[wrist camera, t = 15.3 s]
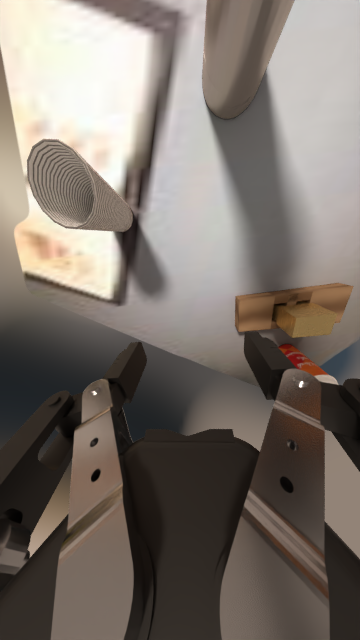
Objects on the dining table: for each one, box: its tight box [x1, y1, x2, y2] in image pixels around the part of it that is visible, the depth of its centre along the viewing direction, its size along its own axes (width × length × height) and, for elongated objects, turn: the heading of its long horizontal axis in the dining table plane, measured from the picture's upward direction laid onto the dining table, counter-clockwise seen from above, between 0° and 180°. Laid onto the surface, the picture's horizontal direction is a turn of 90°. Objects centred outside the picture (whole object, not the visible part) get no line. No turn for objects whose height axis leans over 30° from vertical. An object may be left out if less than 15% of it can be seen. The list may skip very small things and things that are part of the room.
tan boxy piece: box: [272, 301, 337, 338], centre depth 32 cm, size 5×7×11 cm, turn 99°
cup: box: [27, 139, 133, 232], centre depth 24 cm, size 8×8×16 cm
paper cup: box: [278, 344, 338, 385], centre depth 37 cm, size 8×8×14 cm
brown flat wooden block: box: [235, 283, 353, 332], centre depth 36 cm, size 9×24×4 cm, turn 99°
